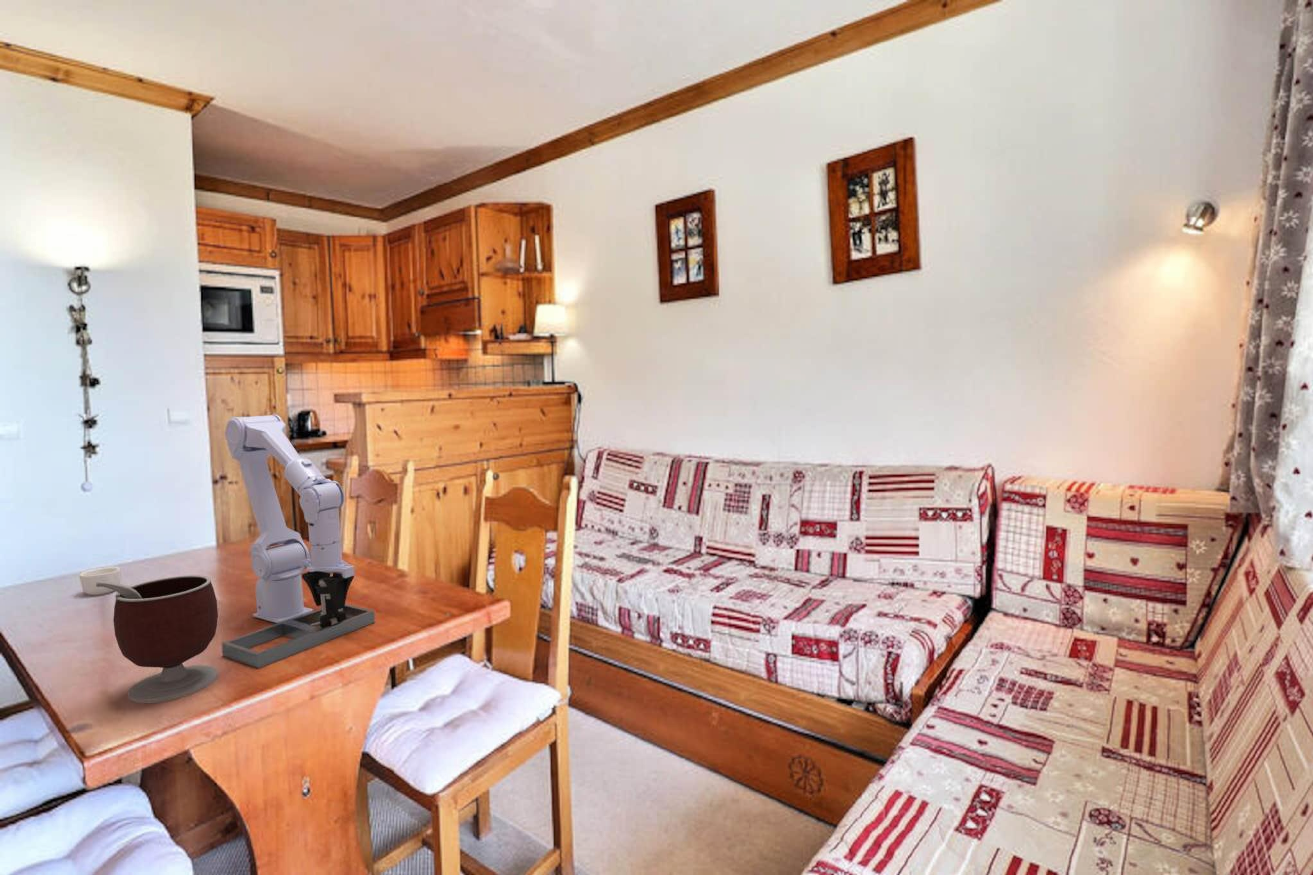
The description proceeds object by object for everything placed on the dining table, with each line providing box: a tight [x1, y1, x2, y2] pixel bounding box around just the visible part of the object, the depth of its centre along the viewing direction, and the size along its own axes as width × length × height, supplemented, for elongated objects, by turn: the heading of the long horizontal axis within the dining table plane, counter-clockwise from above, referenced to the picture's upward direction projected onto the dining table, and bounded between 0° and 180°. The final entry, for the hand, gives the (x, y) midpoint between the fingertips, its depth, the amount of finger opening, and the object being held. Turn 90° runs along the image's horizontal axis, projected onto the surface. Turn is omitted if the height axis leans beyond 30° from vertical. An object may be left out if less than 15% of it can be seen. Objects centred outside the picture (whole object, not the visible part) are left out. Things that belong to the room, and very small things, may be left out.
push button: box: [311, 577, 347, 629], centre depth 134 cm, size 7×5×10 cm
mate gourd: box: [96, 574, 219, 704], centre depth 109 cm, size 16×14×20 cm
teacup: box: [78, 566, 121, 596], centre depth 161 cm, size 10×8×5 cm
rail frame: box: [221, 603, 376, 669], centre depth 129 cm, size 12×24×2 cm, turn 150°
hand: (330, 606), depth 134 cm, fingers closed on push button, 5 cm apart
